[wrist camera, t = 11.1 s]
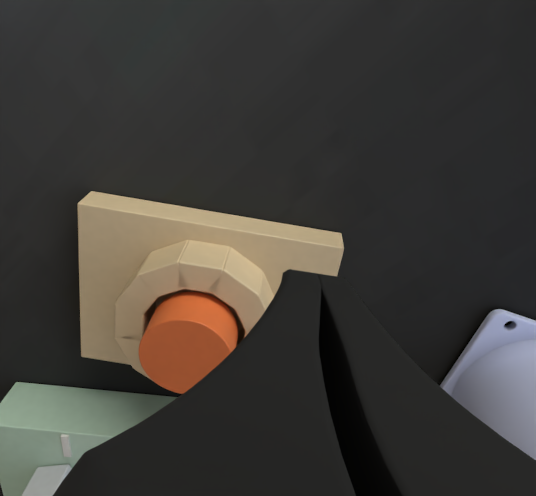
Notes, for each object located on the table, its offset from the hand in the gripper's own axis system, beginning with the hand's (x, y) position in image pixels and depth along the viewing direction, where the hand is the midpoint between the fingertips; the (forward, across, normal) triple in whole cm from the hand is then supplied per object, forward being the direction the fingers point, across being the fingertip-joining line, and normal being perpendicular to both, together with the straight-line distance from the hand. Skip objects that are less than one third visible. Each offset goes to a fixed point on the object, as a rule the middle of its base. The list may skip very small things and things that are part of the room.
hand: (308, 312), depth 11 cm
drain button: (+7, +3, +6) cm, 10 cm away
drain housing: (+10, +3, +6) cm, 13 cm away
